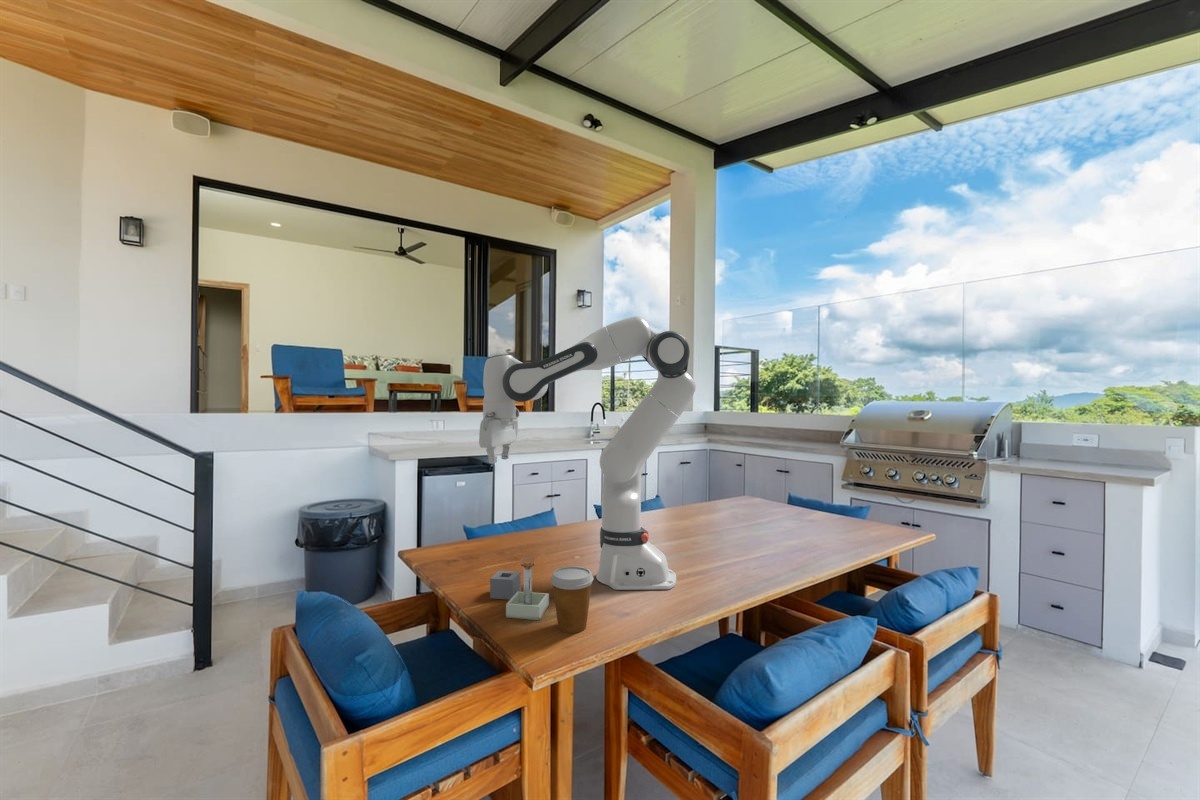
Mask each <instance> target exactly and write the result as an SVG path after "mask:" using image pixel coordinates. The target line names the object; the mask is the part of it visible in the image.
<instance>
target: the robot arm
mask: <svg viewBox="0 0 1200 800" xmlns="http://www.w3.org/2000/svg"><path fill="white" fill-rule="evenodd" d="M690 352H691V351H690V344H689V342H688V340H687V339H686V337H684V335H682V334H681V333H680V332H677V331H674V330H667V331H665V330H664V331H663V332H660V333H657V332H654V331H653V330H652V328H651V326H650V324H649V323H648V322H647V320H645V319H644V318H643V317H641V316H636V315H635V316H631V317H627V318H623V319H621V320H617V321H615V322H612V323H609V324H608V325H605V326H603V327H601V328H599V329H598V330H596V331H594V332H592V333H590V334H589V335H588V336H585V337H584V338H583V339H581V340H580V341H578V342H577V343H575V344H573V345H572V346H570V347H569V348H567V349H564V350H562V351H559V352H558V353H555V354H553V355H550V356H549V357H546V358H544V359H542V360H539V361H536V362H522V361H520V360H518V359H516V358H515V357H514V356H513V355H511V354H509V353H508V354H507V353H506V354H505V353H504V354H499V355H497V354H496V355H493V356H490V357H489V358H487V359H486V360H485V363H484V367H483V378H482V379H483V380H482V381H483V382H482V388H483V391H484V396H483V400H482V403H483V404H482V412H483V413H482V417H483V419H482V420H480V424H479V433H478V434H479V435H478V436H479V439H478V443H479V447H480V448H485V449H486V454H487V458H488V463H489V464H495V463H497V460H498V459H497V458H498V457H497V456H496V450H497V447H500V446H502V451H501V455H500V457H501V460H508V459H509V458H510V451H511V447H512V445H511V444H512V443H516V442H517V440H518V432H519V431H518V430H519V420H518V418H520V411H519V409H518V408H517V407H516V402H518V403H521V402H522V403H525V402H527V401H528V402H529V401H536V400H538V399H541V398H542V397H544V395H546V393H547V391H548V389H549V384H551V383H553V382H555V381H558V380H560V379H562V378H565V377H567V376H568V375H570V374H573V373H576V372H581V371H589V370H590V371H599V370H604V369H608V368H611V367H615V366H617V365H619V364H621V363H624V362H625V361H628V360H630V359H633V358H634V357H635V358H636V357H639V356H641V357H642V358H643V359H644V360H645V361H646V362H647V364H648V365H649V366H651V368H653V369H654V370H656V371H657V378H656V381H655V382H654V385H653V386H652V387H651V388H650V390H649V391H648V392H647V394H645V396H644V397H643V399H641V401H640V402H639V404H638V405H637V406H636V407H635V409H634V410H633V412H632V413H631V414H630V416H629V417H628V418H627V419H626V420H625V422H624V423H623V424H622V425H621V427H619V430H618V431H617V432H616V433H615V434H614V436H613V437H612V438H611V440H610V441H609V442H608V443H607V445H606V446H605V447H604V448H603V450H602V452H601V454H600V457H599V467H600V470H601V472H602V474H603V479H602V480H603V482H602V483H603V484H602V494H601V495H602V496H601V527H600V530H599V544H600V557H599V564H598V569H597V572H596V576H595V578H596V579H597V581H598V582H600V583H601V584H604V585H605V586H608V587H610V588H612V589H613V590H616V591H617V590H618V591H620V590H621V591H623V590H625V591H628V590H629V591H631V590H635V591H637V590H646V591H647V590H670V589H672V588H674V587H675V585H676V584H677V574H676V573H675V571H674V570H672V569H671V568H669V564H668V563H669V562H668V559H667V556H666V554H664V553H663V552H662V551H661V550H660V549H658V548H657V547H656V546H655V545H653V544H652V543H650V541H649V538H650V536H649V531H648V529H647V528H643V526H642V509H641V507H642V503H641V502H642V467H643V466H644V464H645V463H646V462H647V461H648V460H649V458H650V457H651V455H652V454H653V452H654V451H655V449H656V448H657V447H658V446H659V444H660V442H661V441H662V440H663V438H664V437H665V436H666V435H667V433H668V432H669V431H670V429H671V428H672V427H673V425H674V424H675V423H676V422H677V420H678V419H679V418H680V417H681V416H682V414H683V412H684V411H685V409H686V408H687V406H688V405H689V403H690V401H691V399H692V398H693V396H694V394H695V392H696V386H697V385H696V382H695V380H694V379H693V377H692V376H691V374H689V373H688V366H689V360H690Z"/></svg>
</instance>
